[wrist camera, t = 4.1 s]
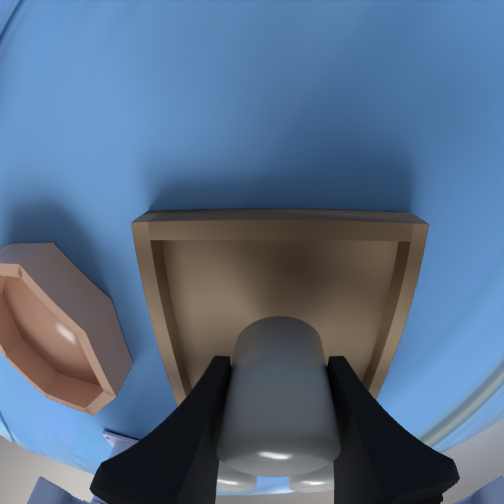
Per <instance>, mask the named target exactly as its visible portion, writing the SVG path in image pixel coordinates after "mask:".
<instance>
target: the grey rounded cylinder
mask: <svg viewBox="0 0 504 504" xmlns="http://www.w3.org/2000/svg"><path fill="white" fill-rule="evenodd" d="M340 449H341V447H340V441H339V434H338V428H337V421H336V415H335V409H334V403H333V398H332V392H331V386H330V381H329V375H328V370H327V365H326V360H325V355H324V350H323V345H322V341H321V337H320V335H319V334H318V332H317V331H316V330H315V329H314V328H313V327H312V326H311V325H310V324H308V323H306V322H305V321H302V320H300V319H297V318H293V317H287V316H273V317H267V318H263V319H260V320H257V321H255V322H253V323H251V324H250V325H248V326H247V327H246V328H244V329H243V330H242V332H241V333H240V334H239V336H238V337H237V340H236V343H235V348H234V354H233V360H232V366H231V371H230V377H229V383H228V389H227V394H226V400H225V406H224V411H223V417H222V423H221V429H220V434H219V440H218V446H217V456H218V458H219V459H220V460H221V461H222V462H223V463H224V464H226V465H227V466H229V467H231V468H233V469H235V470H237V471H240V472H243V473H247V474H252V475H257V476H267V477H285V476H294V475H300V474H305V473H309V472H312V471H315V470H318V469H320V468H323V467H325V466H327V465H328V464H330V463H331V462H333V461H334V460H335V459H336V458H337V457H338V455H339V453H340Z"/></svg>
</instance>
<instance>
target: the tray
mask: <svg viewBox="0 0 504 504" xmlns="http://www.w3.org/2000/svg"><path fill="white" fill-rule="evenodd" d="M131 226H132V233H133V239H134V244H135V250H136V255H137V261H138V266H139V271H140V276H141V280H142V285H143V289H144V294H145V298H146V302H147V307H148V311H149V315H150V318H151V322H152V326H153V330H154V333H155V337H156V341H157V344H158V348H159V351H160V354H161V358H162V361H163V364H164V367H165V370H166V374H167V377H168V380H169V383H170V386H171V389H172V391H173V394H174V397H175V400H176V403H177V405H178V406H179V405H180V404H181V402H182V401H183V400H184V399H185V398H186V396H187V395H188V394H189V393H190V391H191V390H192V389H193V387H194V386H195V385H196V383H197V382H198V381H199V379H200V378H201V376H202V375H203V373H204V372H205V370H206V369H207V367H208V365H209V364H210V362H211V360H212V358H213V357H214V356H215V355H216V356H230V361H231V366H232V360H233V354H234V348H235V343H236V340H237V337H238V336H239V334H240V333H241V332H242V330H243V329H244V328H246V327H247V326H248V325H250V324H251V323H253V322H255V321H257V320H260V319H263V318H267V317H273V316H287V317H293V318H297V319H300V320H302V321H305V322H306V323H308V324H310V325H311V326H312V327H313V328H314V329H315V330H316V331H317V332H318V334H319V335H320V337H321V341H322V345H323V350H324V355H325V360H326V365H327V364H328V359H329V356H344V357H345V358H346V359H347V361H348V363H349V364H350V366H351V367H352V369H353V370H354V372H355V373H356V375H357V376H358V377H359V379H360V380H361V382H362V383H363V384H364V386H365V387H366V388H367V389H368V391H369V392H370V393H371V395H372V396H373V397H374V398H375V400H376V398H377V396H378V394H379V391H380V389H381V387H382V385H383V382H384V380H385V377H386V375H387V373H388V370H389V368H390V365H391V363H392V360H393V357H394V355H395V352H396V349H397V346H398V344H399V341H400V338H401V335H402V332H403V329H404V326H405V323H406V319H407V316H408V313H409V310H410V306H411V303H412V299H413V295H414V292H415V288H416V284H417V280H418V276H419V271H420V267H421V263H422V258H423V253H424V248H425V243H426V237H427V232H428V226H429V224H428V223H426V222H425V221H423V220H421V219H420V218H418V217H417V216H415V215H414V214H412V213H406V212H388V211H367V210H339V209H283V208H251V209H195V210H167V211H147V212H146V213H144V214H143V215H141V216H140V217H138V218H137V219H135V220H134V221H133V222H131Z"/></svg>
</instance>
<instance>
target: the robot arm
mask: <svg viewBox="0 0 504 504" xmlns="http://www.w3.org/2000/svg"><path fill="white" fill-rule="evenodd" d="M327 370H328V375H329V381H330V386H331V392H332V398H333V403H334V409H335V415H336V421H337V428H338V434H339V441H340V447H341V449H340V453H339V455H338V457H337V458H336V459H335V460H334V461H333V467H334V504H440V502H442V501H443V496H442V493H444V492H445V491H447V490H448V489H449V488H451V487H452V486H453V485H455V484H456V483H457V482H458V480H459V479H460V477H459V474H458V471H457V467H456V465H455V463H454V461H453V459H451V458H449V457H447V456H445V455H443V454H441V453H439V452H437V451H435V450H434V449H432V448H430V447H429V446H427V445H425V444H424V443H422V442H421V441H420V440H418V439H417V438H416V437H414V436H413V435H412V434H410V433H409V432H408V431H406V430H405V429H404V428H403V427H402V426H401V425H400V424H398V423H397V422H396V421H395V420H394V419H393V418H392V417H391V416H390V415H389V414H388V413H387V412H386V411H385V410H384V409H383V408H382V406H381V405H380V404H379V403H378V402H377V401H376V400H375V398H374V397H373V396H372V395H371V393H370V392H369V391H368V389H367V388H366V387H365V386H364V384H363V383H362V382H361V380H360V379H359V377H358V376H357V375H356V373H355V372H354V370H353V369H352V367H351V366H350V364H349V363H348V361H347V359H346V358H345V357H344V356H329V359H328V364H327ZM230 371H231V361H230V356H216V355H215V356H214V357H213V358H212V360H211V362H210V364H209V365H208V367H207V369H206V370H205V372H204V373H203V375H202V376H201V378H200V379H199V381H198V382H197V383H196V385H195V386H194V387H193V389H192V390H191V391H190V393H189V394H188V395H187V396H186V398H185V399H184V400H183V401H182V402H181V404H180V405H179V406H178V407H177V408H176V409H175V410H174V411H173V412H172V413H171V414H170V415H169V416H168V417H167V418H166V419H165V420H164V421H163V422H162V423H161V424H160V425H159V426H158V427H156V428H155V429H154V430H153V431H152V432H151V433H149V434H148V435H147V436H145V437H144V438H143V439H141V440H140V441H138V440H134V439H131V438H127V437H123V436H120V435H116V434H113V433H110V432H107V431H103V433H102V434H103V436H104V437H105V438H106V439H107V441H108V442H109V443H110V444H111V446H112V447H113V450H112V452H111V454H110V457H109V459H108V460H106V461H104V462H102V463H101V465H100V467H99V468H98V470H97V471H96V473H95V476H94V478H93V481H92V483H91V486H90V490H91V492H92V493H93V494H94V497H93V499H92V501H90V502H89V503H88V502H87V501H84V500H83V501H82V500H80V499H78V498H75V497H73V496H72V495H71V494H70V493H68V492H67V491H65V490H64V489H62V488H61V487H59V486H57V485H55V484H53V483H52V482H50V481H48V480H47V479H45V478H43V477H39V479H38V481H37V483H36V485H35V487H34V489H33V492H32V494H31V496H30V498H29V501H28V503H27V504H215V498H216V488H217V478H218V469H219V461H220V459H219V458H218V456H217V446H218V440H219V434H220V429H221V423H222V417H223V411H224V406H225V400H226V394H227V389H228V383H229V377H230ZM454 504H504V478H503V476H500V477H499V478H497V479H495V480H494V481H492V482H490V483H489V484H487V485H485V486H484V487H482V488H480V489H479V490H477V491H476V492H475V493H473V495H471V496H469V497H467V498H465V499H463V500H461V501H459V502H457V503H454Z"/></svg>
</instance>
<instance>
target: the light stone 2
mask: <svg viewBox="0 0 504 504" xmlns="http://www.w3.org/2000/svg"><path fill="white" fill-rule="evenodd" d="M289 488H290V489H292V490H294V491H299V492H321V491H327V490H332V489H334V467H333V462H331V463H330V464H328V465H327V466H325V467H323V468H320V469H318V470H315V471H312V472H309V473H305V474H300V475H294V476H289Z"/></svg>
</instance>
